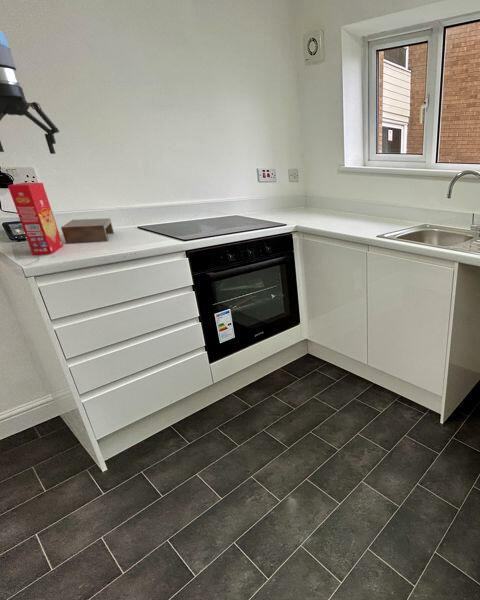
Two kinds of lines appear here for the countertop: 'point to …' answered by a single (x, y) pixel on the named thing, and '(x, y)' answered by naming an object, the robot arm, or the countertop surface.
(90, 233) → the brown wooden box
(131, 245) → the countertop surface
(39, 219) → the food packaging
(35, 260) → the countertop surface
